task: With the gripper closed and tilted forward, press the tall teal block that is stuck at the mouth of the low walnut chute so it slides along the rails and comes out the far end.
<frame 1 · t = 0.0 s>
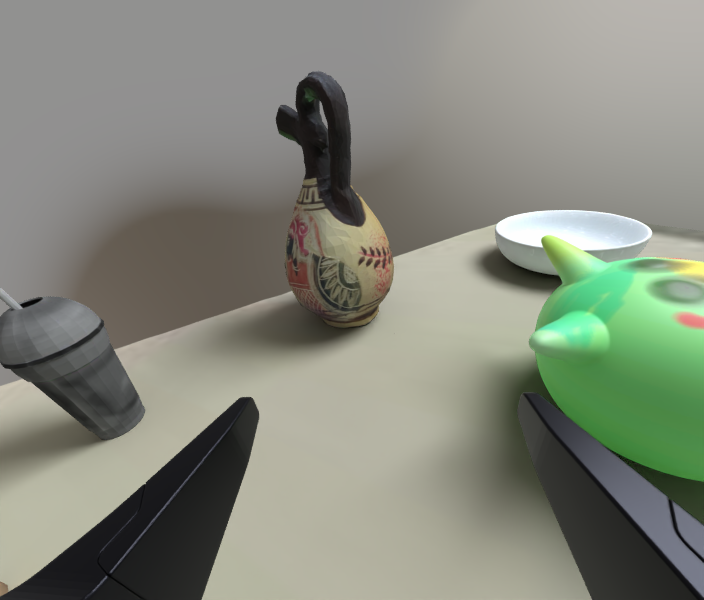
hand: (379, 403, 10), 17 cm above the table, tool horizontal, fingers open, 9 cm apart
ceramic jug: (350, 315, 45), on the table
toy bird: (613, 411, 26), on the table
beverage cup: (123, 422, 32), on the table
serving bowl: (555, 264, 51), on the table
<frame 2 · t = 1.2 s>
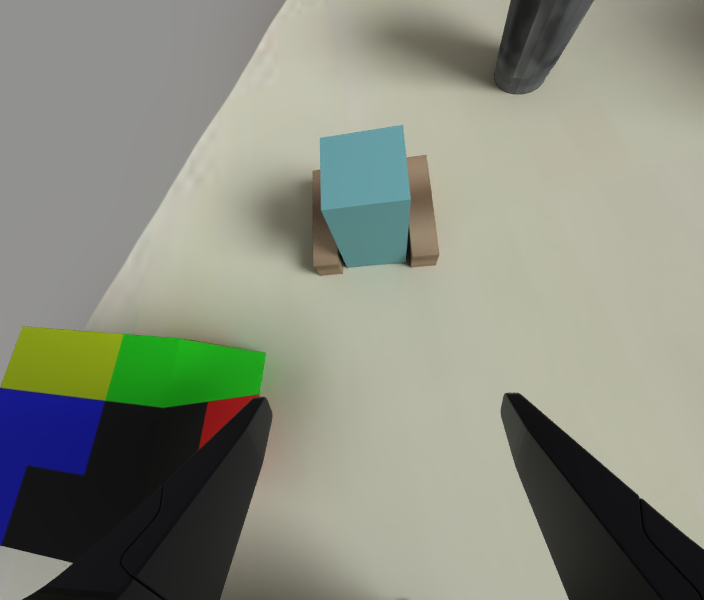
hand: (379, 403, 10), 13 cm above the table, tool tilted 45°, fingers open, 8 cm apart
block: (369, 210, 21), point 5 cm above the table, slide at 0.0 cm
chute: (374, 238, 25), on the table
puzzle toy: (201, 409, 24), on the table
beverage cup: (518, 77, 27), on the table
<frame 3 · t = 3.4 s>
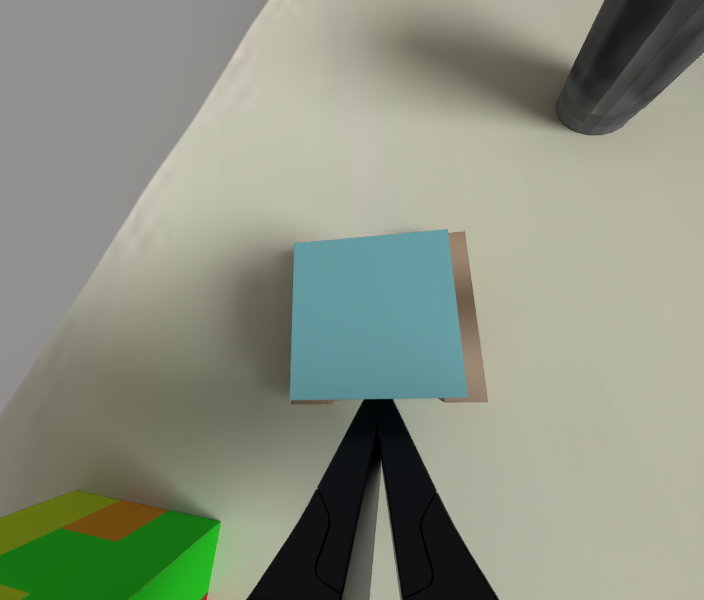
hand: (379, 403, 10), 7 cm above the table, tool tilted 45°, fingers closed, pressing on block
block: (379, 332, 13), point 5 cm above the table, slide at 0.2 cm, touching gripper
chute: (383, 346, 17), on the table
beverage cup: (591, 109, 19), on the table
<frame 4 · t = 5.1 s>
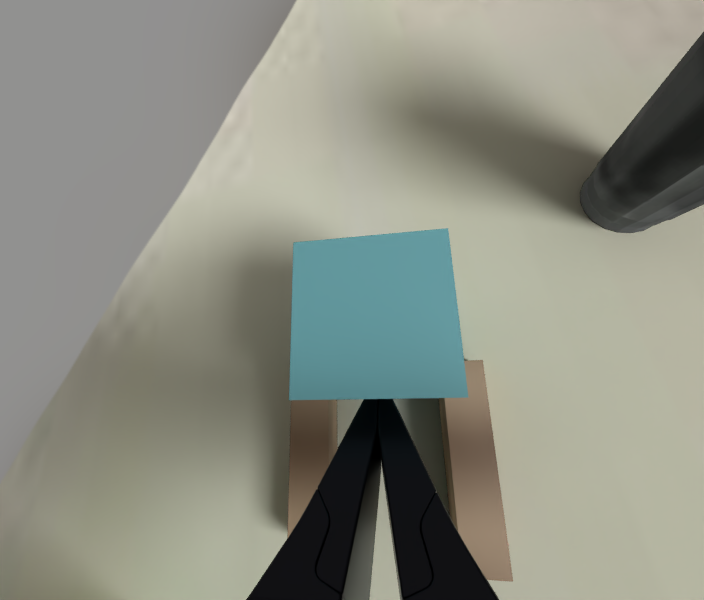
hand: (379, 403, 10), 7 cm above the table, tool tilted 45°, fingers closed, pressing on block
block: (379, 332, 13), point 5 cm above the table, slide at 7.3 cm, touching gripper
chute: (390, 478, 15), on the table
beverage cup: (619, 201, 17), on the table
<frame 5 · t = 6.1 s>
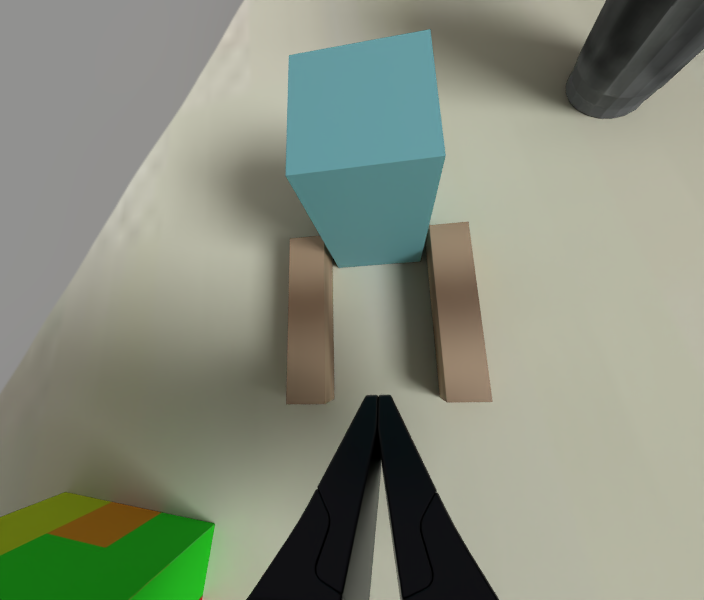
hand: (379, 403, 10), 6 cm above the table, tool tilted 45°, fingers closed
block: (370, 183, 14), point 4 cm above the table, slide at 7.3 cm
chute: (382, 343, 16), on the table
beverage cup: (603, 91, 18), on the table
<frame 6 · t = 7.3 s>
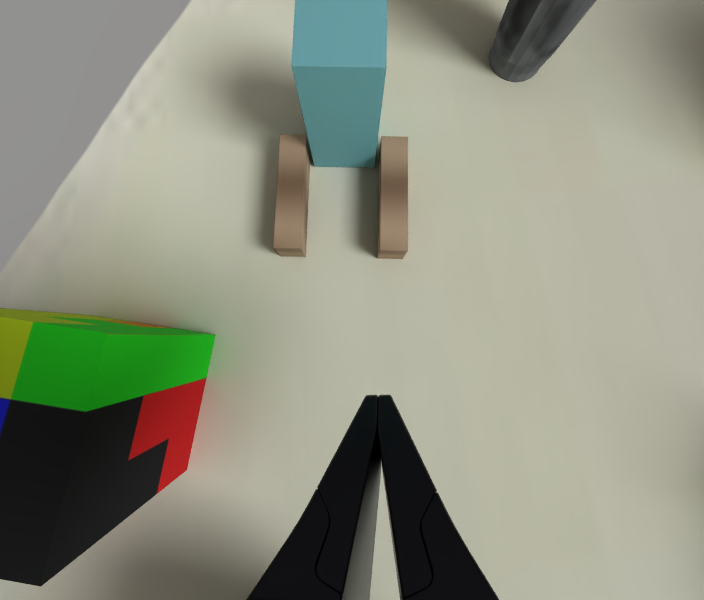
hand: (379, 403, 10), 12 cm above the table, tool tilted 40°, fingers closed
block: (343, 95, 20), point 4 cm above the table, slide at 7.3 cm
chute: (342, 221, 23), on the table
puzzle toy: (140, 389, 22), on the table
beverage cup: (513, 61, 25), on the table
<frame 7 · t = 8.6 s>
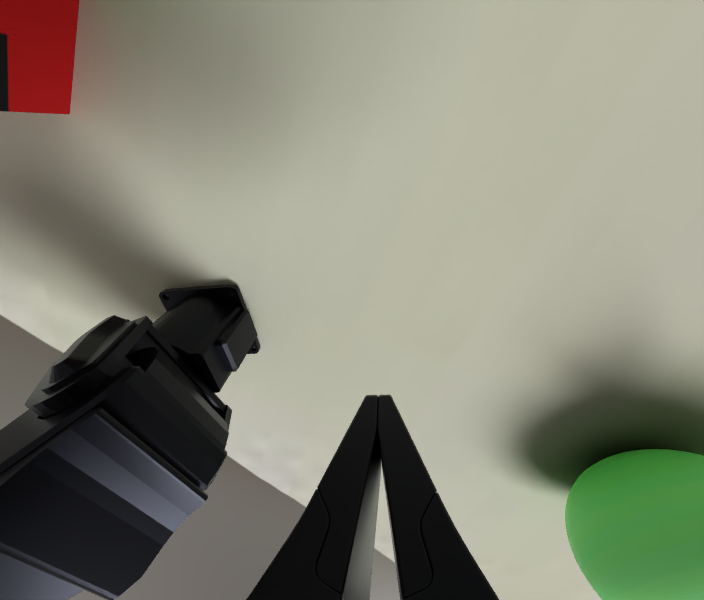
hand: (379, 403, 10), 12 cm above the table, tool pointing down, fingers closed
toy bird: (635, 461, 29), on the table
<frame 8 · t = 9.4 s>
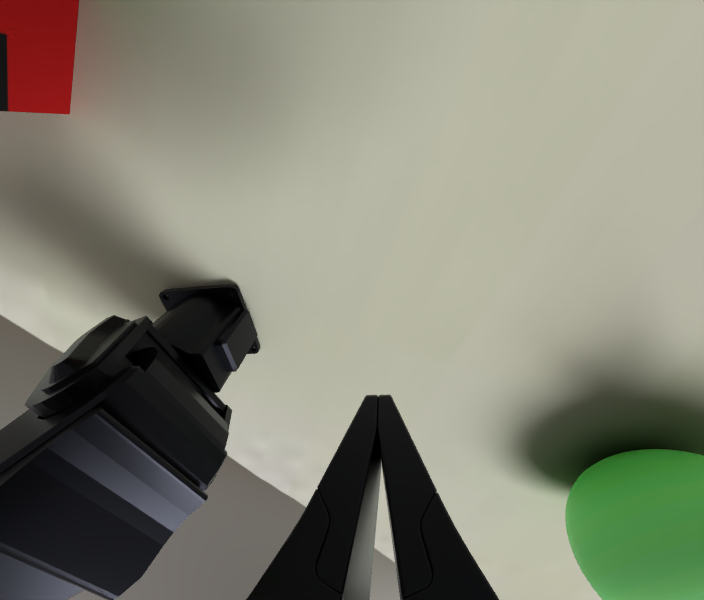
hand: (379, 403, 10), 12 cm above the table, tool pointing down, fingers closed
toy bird: (635, 461, 29), on the table
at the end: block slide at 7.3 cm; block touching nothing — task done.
